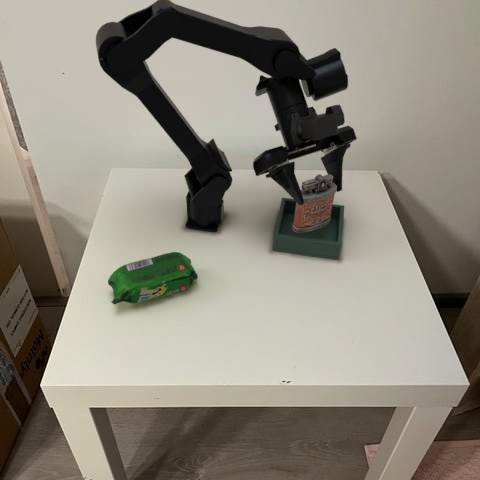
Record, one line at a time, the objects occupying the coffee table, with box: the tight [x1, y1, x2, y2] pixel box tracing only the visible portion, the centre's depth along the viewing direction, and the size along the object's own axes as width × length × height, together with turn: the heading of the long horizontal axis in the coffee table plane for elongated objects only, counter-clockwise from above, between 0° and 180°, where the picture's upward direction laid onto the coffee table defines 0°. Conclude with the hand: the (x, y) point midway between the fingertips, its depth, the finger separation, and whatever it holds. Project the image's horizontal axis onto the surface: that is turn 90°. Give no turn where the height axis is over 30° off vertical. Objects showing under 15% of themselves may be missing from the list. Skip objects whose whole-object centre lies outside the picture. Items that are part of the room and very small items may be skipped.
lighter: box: [292, 173, 337, 233], centre depth 88 cm, size 8×3×10 cm, turn 119°
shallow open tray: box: [271, 197, 345, 261], centre depth 95 cm, size 13×13×4 cm
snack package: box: [107, 251, 199, 305], centre depth 83 cm, size 7×16×5 cm, turn 115°
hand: (321, 197), depth 86 cm, fingers closed on lighter, 8 cm apart
